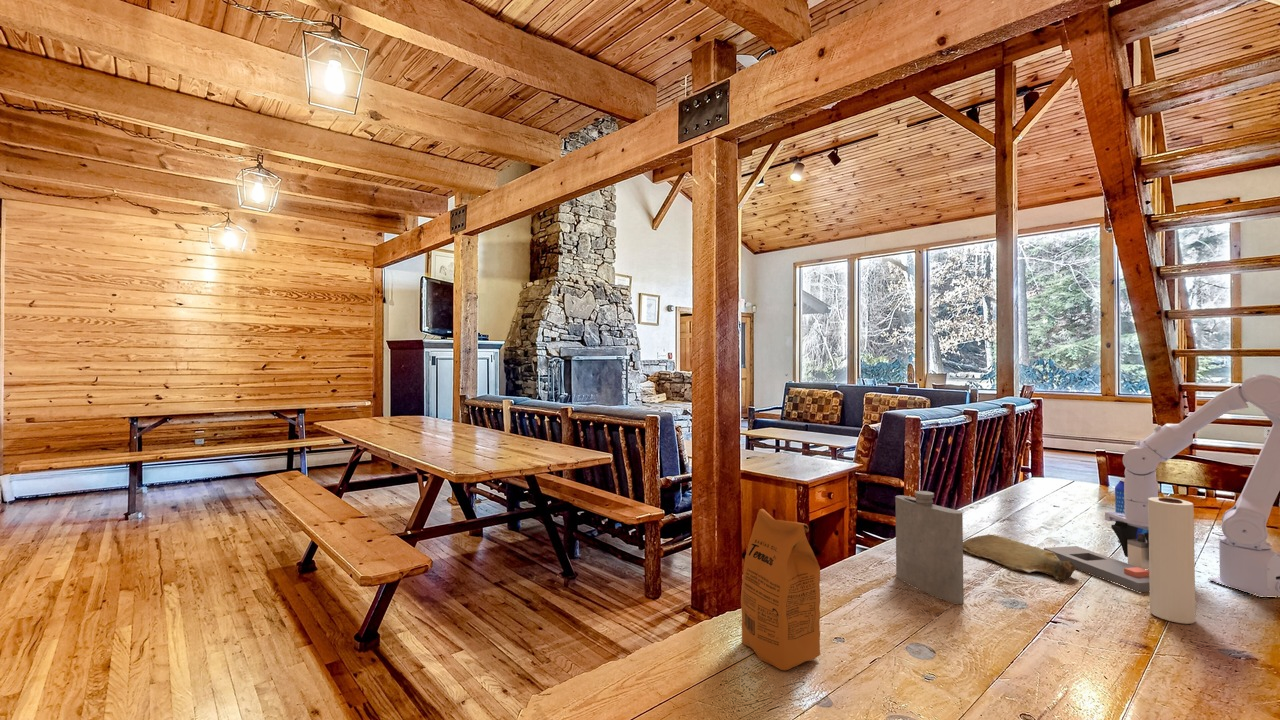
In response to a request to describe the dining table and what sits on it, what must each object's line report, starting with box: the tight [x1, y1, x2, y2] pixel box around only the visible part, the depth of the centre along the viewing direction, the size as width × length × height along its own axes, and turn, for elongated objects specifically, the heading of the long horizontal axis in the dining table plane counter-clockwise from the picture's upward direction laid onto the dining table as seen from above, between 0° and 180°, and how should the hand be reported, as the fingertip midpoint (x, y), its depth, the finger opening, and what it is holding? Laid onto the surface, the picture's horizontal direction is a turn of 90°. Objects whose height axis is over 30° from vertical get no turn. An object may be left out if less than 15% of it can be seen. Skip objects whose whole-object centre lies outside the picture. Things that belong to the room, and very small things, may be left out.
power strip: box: [1043, 545, 1150, 593], centre depth 123 cm, size 22×9×3 cm, turn 8°
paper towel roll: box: [1148, 495, 1197, 625], centre depth 101 cm, size 7×6×21 cm
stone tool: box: [963, 534, 1078, 582], centre depth 130 cm, size 12×4×25 cm
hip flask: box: [895, 490, 965, 605], centre depth 115 cm, size 16×4×20 cm, turn 18°
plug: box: [1127, 533, 1149, 569], centre depth 126 cm, size 3×4×8 cm
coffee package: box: [740, 508, 821, 671], centre depth 90 cm, size 10×12×22 cm
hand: (1142, 560), depth 126 cm, fingers open, 5 cm apart
